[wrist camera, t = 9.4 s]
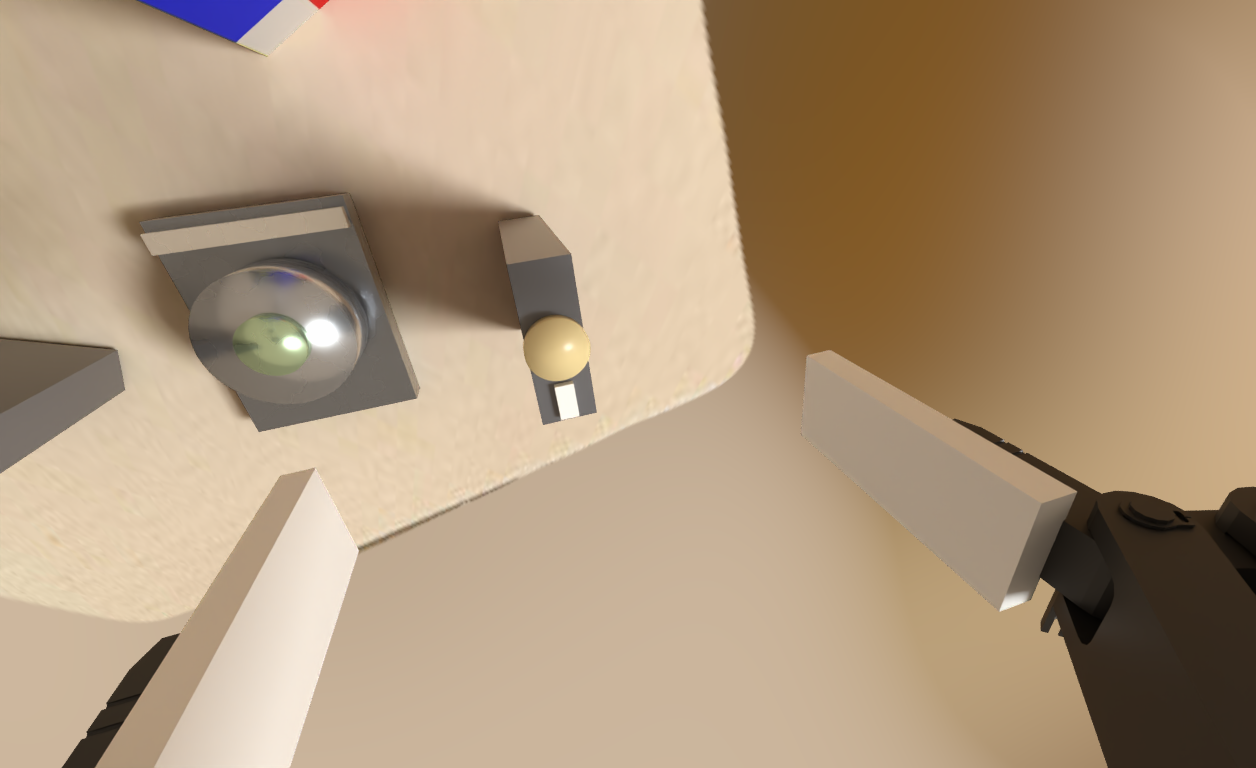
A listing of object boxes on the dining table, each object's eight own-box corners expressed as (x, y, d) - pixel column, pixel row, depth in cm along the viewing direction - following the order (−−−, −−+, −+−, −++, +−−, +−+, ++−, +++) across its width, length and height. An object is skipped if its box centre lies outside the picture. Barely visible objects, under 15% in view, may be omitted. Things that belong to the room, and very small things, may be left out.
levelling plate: (157, 218, 24) (79, 234, 19) (349, 192, 25) (319, 202, 21) (268, 419, 29) (228, 469, 25) (419, 387, 31) (408, 429, 26)
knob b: (496, 221, 28) (504, 268, 17) (540, 214, 28) (576, 256, 17) (521, 332, 31) (542, 432, 20) (561, 324, 31) (601, 418, 20)
